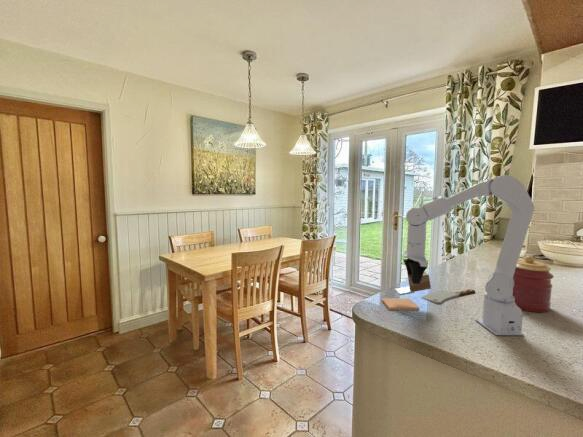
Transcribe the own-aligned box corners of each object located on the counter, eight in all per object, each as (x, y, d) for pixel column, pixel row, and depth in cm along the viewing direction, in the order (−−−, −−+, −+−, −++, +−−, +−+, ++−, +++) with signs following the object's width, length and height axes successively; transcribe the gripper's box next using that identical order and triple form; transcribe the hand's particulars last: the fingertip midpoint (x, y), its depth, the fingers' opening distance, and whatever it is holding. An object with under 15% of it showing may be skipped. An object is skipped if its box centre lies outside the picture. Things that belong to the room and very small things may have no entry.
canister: (531, 315, 93) (536, 261, 91) (493, 300, 105) (497, 252, 103) (559, 310, 96) (565, 259, 94) (520, 296, 108) (524, 250, 107)
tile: (419, 307, 96) (389, 307, 96) (419, 311, 96) (389, 311, 96) (409, 298, 104) (381, 298, 104) (409, 301, 104) (381, 301, 104)
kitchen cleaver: (456, 285, 119) (481, 291, 110) (456, 287, 120) (481, 294, 110) (413, 294, 109) (436, 302, 100) (413, 297, 110) (436, 305, 100)
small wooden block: (432, 289, 97) (430, 275, 96) (399, 295, 97) (397, 281, 97) (425, 284, 102) (423, 271, 101) (394, 290, 102) (392, 276, 102)
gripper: (396, 238, 105) (395, 275, 106) (413, 247, 90) (410, 288, 92) (416, 239, 105) (414, 275, 106) (435, 247, 90) (433, 289, 92)
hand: (414, 281), depth 99 cm, fingers closed on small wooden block, 3 cm apart
